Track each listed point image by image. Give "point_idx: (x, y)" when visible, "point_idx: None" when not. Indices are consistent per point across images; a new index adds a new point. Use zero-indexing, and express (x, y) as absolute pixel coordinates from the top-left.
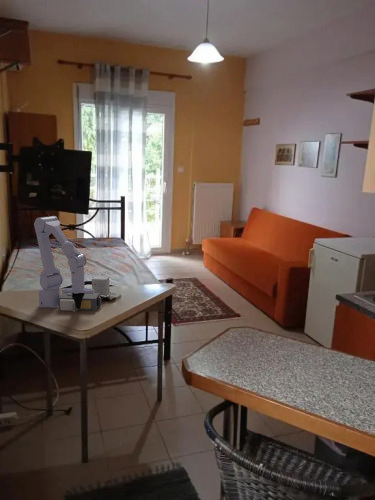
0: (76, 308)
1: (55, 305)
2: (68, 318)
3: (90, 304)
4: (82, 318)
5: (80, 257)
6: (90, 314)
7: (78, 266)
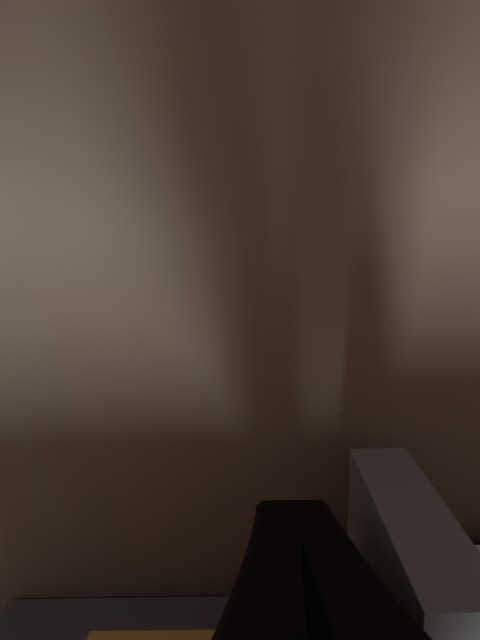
0: None
1: None
2: (415, 157)
3: None
4: (115, 188)
5: None
6: (36, 417)
7: None
